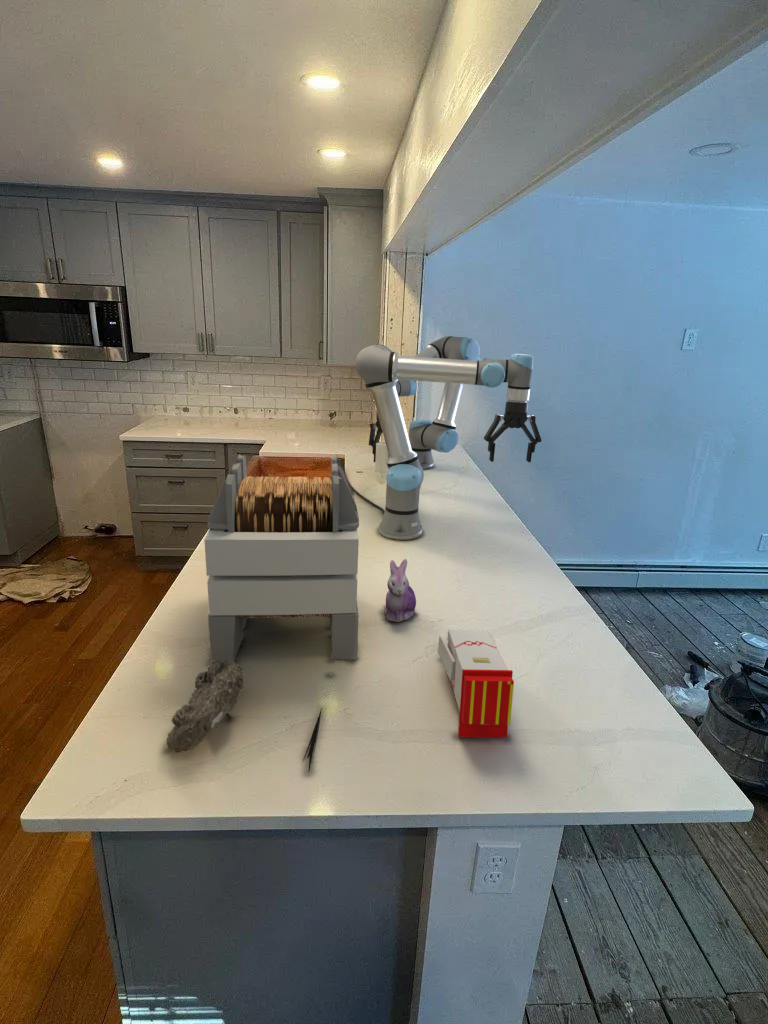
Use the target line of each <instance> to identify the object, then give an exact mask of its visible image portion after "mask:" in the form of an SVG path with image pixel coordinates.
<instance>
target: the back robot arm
mask: <svg viewBox="0 0 768 1024" xmlns="http://www.w3.org/2000/svg"><path fill="white" fill-rule="evenodd" d="M413 356H414V357H428V358H443V359H457V360H471V361H475V360H476V359H477V358H480V356H481V347H480V345H479V343H478V341H477V340H476V339H474V338H471V337H467V336H455V335H447V336H443V337H441V338H438V339H436V340H434V341H432V342H430V343H429V344H427V345H426V346H425V347H424V350H421V351H420V352H419V353H417V354H415V355H413ZM464 385H465V384H456V383H444V387H443V390H442V395H441V399H440V403H439V406H438V410H437V416H436V418H435V419H433V420H432V419H418V420H413V421H411V422H410V423H409V429H408V437H409V441H410V445H411V449H412V451H414V452H415V453H417V456H418V459H419V463H420V465H421V466H422V468H423V470H431V469H433V468H434V467H435V462H434V457H433V453H432V450H433V451H436V452H438V453H450V452H451V451H453V450H454V449H455V448H456V446H457V444H458V442H459V433H458V431H457V430H456V429H457V425H456V424H455V421H456V416H457V412H458V408H459V405H460V400H461V397H462V392H463V388H464ZM396 390H397V394H398V398H400V397H412V396H414V395H415V394H416V392H417V391H418V385H417V381H413V380H399V379H398V381H397V383H396ZM375 417H376V418H375V419H376V421H375V422H372V423H370V424H369V428H370V430H369V438H368V446H370V447H372V449H371V450H372V451H371V452H372V455H373V463H375V461H376V443H378V442H380V439H381V437H382V435H383V432H382V428H381V424H380V421H379V417H378V413H377V412H376V415H375ZM376 428H377V429H376ZM388 458H389V455H388Z"/></svg>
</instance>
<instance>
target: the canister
mask: <svg viewBox="0 0 768 1024" xmlns="http://www.w3.org/2000/svg"><path fill="white" fill-rule="evenodd" d="M388 455H389V454H388V450H387V447H386V443H385V441H379V442H378V443H376V461H375V462H374V463H375V464H374V472H375V473H377V474H387V471H388V466H387V463H386V461H387V459H388Z"/></svg>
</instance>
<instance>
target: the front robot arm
mask: <svg viewBox="0 0 768 1024" xmlns="http://www.w3.org/2000/svg"><path fill="white" fill-rule="evenodd" d="M414 356H415V355H413V356H412V355H400V354H399V353H398V352H397V351H392V350H391V349H390V348H389V347H388V346H387V345H384V344H381V343H376V344H371V345H368V346H366V347H365V348H363V349H361V350H360V351H359V352H358V354H357V355H356V358H355V370H356V373H357V374H358V376H359V377H360V378H361V379H363V382H364V385H365V388H366V390H368V391H370V392H371V394H372V398H373V402H374V405H375V409H376V414H377V413H378V417H379V421H380V424H381V428H382V432H383V433H382V435H383V439H384V442H385V443H386V447H387V450H388V454H389V458H388V459H387V461H386V463H387V466H388V471H387V473H386V475H385V482H386V486H385V487H386V488H385V504H384V505H385V507H384V508H385V509H383V507H381V506H380V505H378V504H376V503H374V502H373V501H371V500H369V499H368V498H366V497H365V496H364V495H362V494H361V493H360V492H358V491H357V489H355V488H354V487H353V486H352V484H351V483H350V481H349V479H348V478H347V480H348V482H349V484H350V486H351V488H352V490H353V493H354V494H356V495H357V496H358V497H359V498H361V499H362V500H364V501H365V502H366V503H368V504H369V505H371V506H373V507H375V508H377V509H378V510H379V511H381V513H382V514H383V515H382V519H381V522H379V525H378V533H379V534H380V535H381V536H382V537H385V538H387V539H389V540H395V541H410V540H415V539H418V538H420V537H421V536H422V535H423V525H422V524H421V518H420V515H419V507H420V506H419V505H420V504H419V503H420V494H421V493H420V492H421V487H422V483H423V481H424V476H425V475H424V469H423V468H422V466H421V465H420V463H419V459H418V456H417V453H415V452H414V451H412V449H411V445H410V441H409V432H408V430H407V425H406V422H405V418H404V414H403V410H402V406H401V402H400V397H398V394H397V390H396V383H397V381H398V379H399V380H413V381H415V382H429V383H441V384H442V383H443V384H445V383H456V384H464V385H470V386H471V385H473V386H482V387H484V386H485V387H487V388H492V389H493V388H497V387H500V386H501V385H502V384H503V383H507V390H506V401H505V407H504V414H503V415H502V414H499V413H495V414H494V419H493V421H492V423H491V425H490V426H489V428H488V430H487V431H486V433H485V434H484V436H483V441H485V442H488V443H487V451H488V452H489V458H488V460H489V461H490V462H492V463H493V462H495V461H494V460H495V452H496V443H495V441H497V440H498V439H499V437H500V436H502V434H503V433H504V432H505V431H506V430H508V429H520V428H521V430H522V431H523V432H524V434H525V436H526V437H527V438H528V440H529V441H530V442H528V443H527V450H526V451H527V452H526V457H525V460H526V462H528V463H532V457H533V453H535V452H536V445H537V444H538V443H541V442H542V440H543V439H542V437H541V434H540V432H539V428H538V426H537V423H536V420H537V419H536V416H535V415H533V414H530V415H528V409H529V402H528V401H530V393H531V385H532V378H533V371H534V356H533V355H532V354H527V353H513V354H511V356H510V359H500V358H499V359H498V358H486V357H484V358H480V357H479V358H477V359H476V360H475V361H471V360H457V359H443V358H428V357H414ZM502 420H503V422H502ZM527 421H528V422H529V425H530V427H531V429H532V433H533V434H532V433H531V432H530V430H529V429H528V427H527V425H526V424H525V423H526V422H527ZM500 422H502V423H501V426H500V427H498V426H499V424H500ZM497 427H498V428H497ZM496 429H497V430H496ZM338 460H339V462H340V464H341V467H342V469H343V471H344V473H345V475H346V476H347V474H346V470H345V467H344V464H343V462H342V461H341V459H338Z"/></svg>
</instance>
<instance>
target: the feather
mask: <svg viewBox="0 0 768 1024" xmlns="http://www.w3.org/2000/svg"><path fill="white" fill-rule="evenodd" d="M329 675H330V676H331V675H332V674H331V673H330V674H329ZM322 710H323V707H321V708H320V710H319V713H318V716H317V719H316V723H315V725H314V728H313V731H312V733H311V737H310V739H309V742H308V745H307V748H306V751H305V754H304V757H303V760H302V763H301V767H302V765H303V763H304V761H305V758H308V759H309V760H308V762H307V763H308V764H307V766H308V771H310V770H311V766H312V765H311V764H312V760H313V757H315V756H314V755H315V751H316V749H315V746H317V739H318V733H319V729H320V722H321V717H322V712H323V711H322ZM313 754H314V755H313ZM306 755H307V757H306Z"/></svg>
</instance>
